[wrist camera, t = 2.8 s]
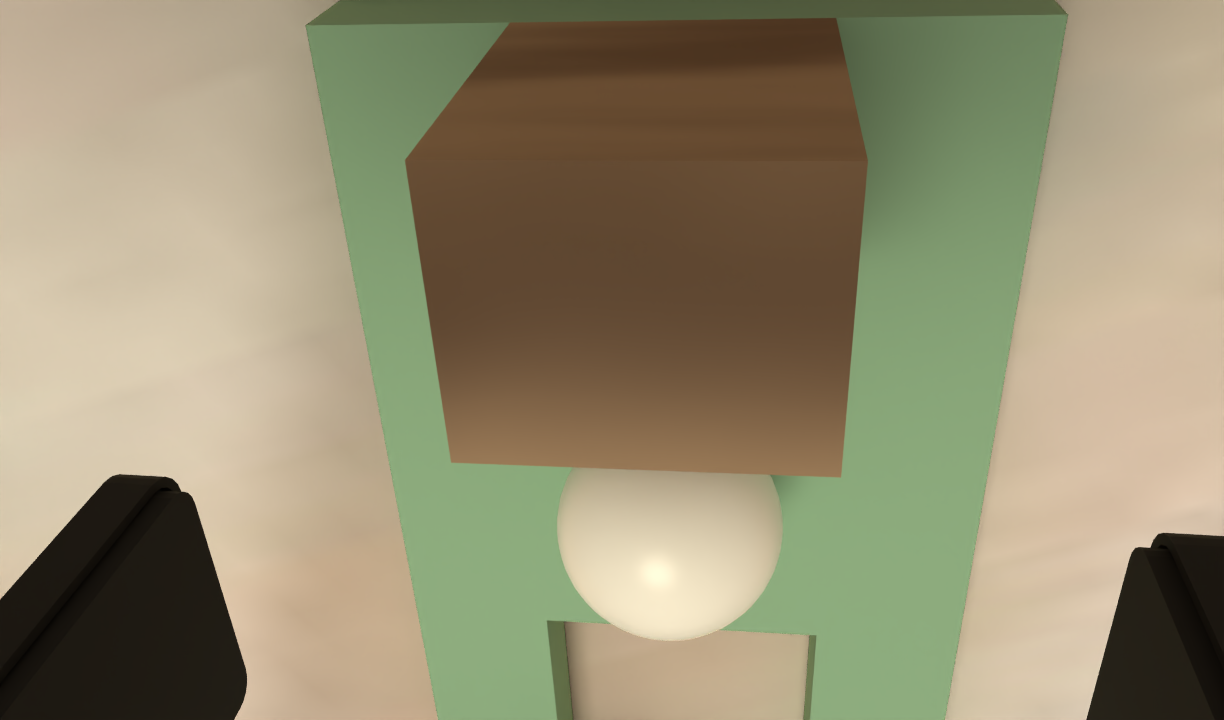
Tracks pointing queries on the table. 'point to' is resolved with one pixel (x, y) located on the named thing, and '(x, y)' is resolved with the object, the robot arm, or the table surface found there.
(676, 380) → the block
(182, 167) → the table surface
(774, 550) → the ball
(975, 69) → the green
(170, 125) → the table surface
